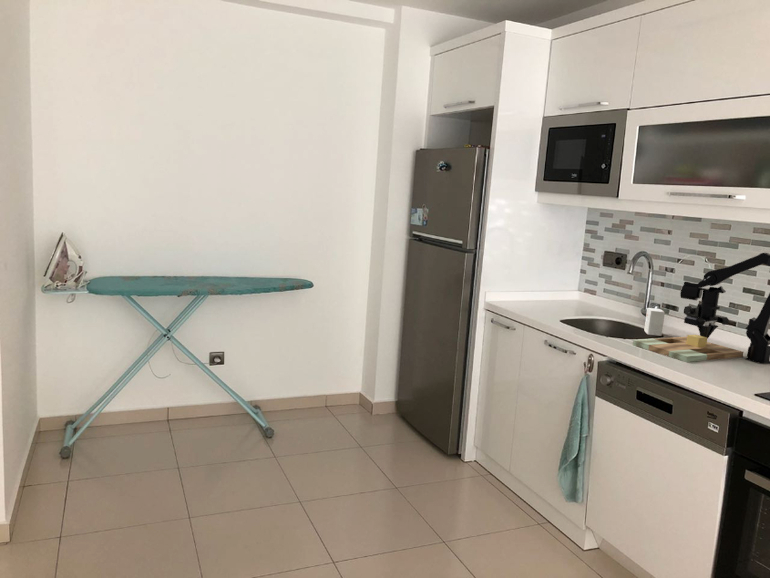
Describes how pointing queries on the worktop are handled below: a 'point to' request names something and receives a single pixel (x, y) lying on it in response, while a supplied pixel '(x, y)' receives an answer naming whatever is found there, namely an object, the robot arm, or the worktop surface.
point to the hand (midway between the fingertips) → (703, 341)
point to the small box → (654, 321)
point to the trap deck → (687, 349)
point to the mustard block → (696, 340)
